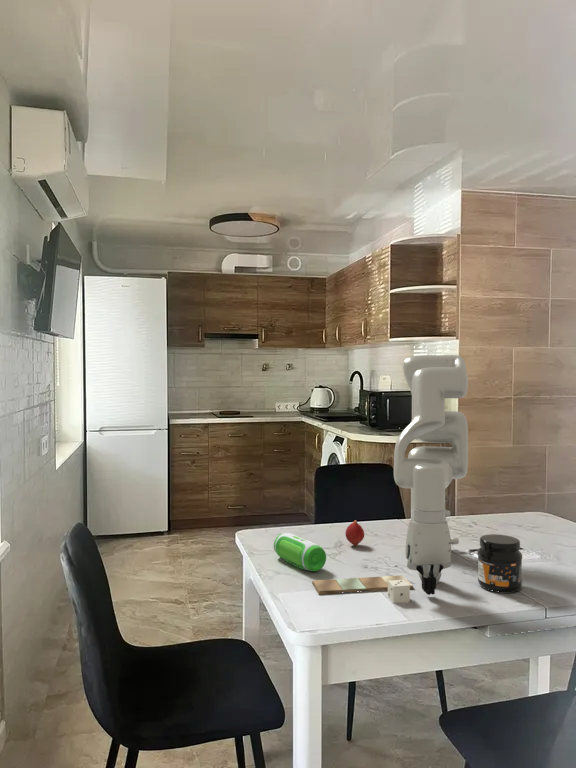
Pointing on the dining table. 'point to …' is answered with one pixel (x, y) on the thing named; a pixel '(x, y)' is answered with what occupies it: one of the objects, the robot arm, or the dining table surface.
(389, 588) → the die
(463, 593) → the dining table surface
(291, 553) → the speaker
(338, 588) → the track
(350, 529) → the onion
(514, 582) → the supplement container
